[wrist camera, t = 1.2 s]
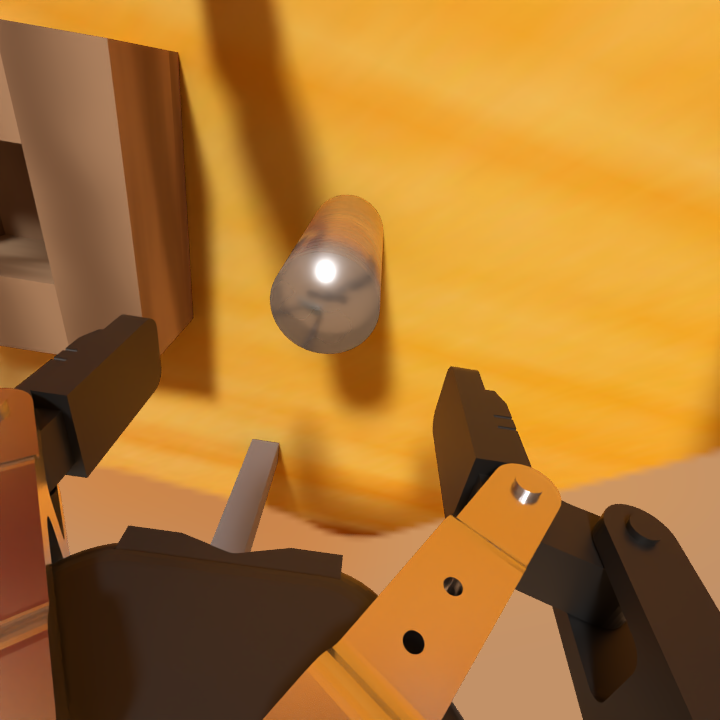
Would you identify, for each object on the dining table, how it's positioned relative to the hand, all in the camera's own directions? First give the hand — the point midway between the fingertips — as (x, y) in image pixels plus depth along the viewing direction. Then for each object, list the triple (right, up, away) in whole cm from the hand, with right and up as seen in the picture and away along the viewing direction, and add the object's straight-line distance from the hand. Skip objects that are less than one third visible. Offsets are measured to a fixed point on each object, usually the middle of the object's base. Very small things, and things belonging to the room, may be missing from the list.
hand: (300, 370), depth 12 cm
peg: (+1, +7, +12) cm, 14 cm away
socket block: (-15, +10, +12) cm, 21 cm away
